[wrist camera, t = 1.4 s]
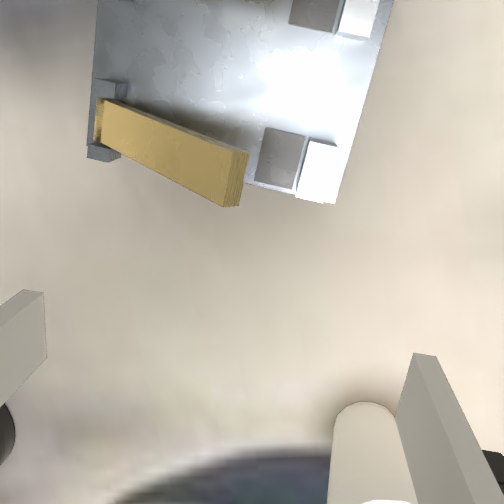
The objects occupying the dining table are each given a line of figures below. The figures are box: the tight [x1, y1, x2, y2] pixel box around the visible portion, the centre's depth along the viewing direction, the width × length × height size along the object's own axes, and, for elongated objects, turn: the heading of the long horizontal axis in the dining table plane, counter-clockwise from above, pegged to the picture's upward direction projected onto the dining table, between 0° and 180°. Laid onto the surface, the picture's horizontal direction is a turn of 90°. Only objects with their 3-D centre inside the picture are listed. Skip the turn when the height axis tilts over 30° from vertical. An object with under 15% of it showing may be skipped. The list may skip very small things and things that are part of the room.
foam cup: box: [327, 402, 418, 504], centre depth 41 cm, size 10×9×13 cm
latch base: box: [87, 0, 394, 204], centre depth 33 cm, size 20×17×7 cm
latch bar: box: [93, 97, 249, 207], centre depth 29 cm, size 15×3×2 cm
